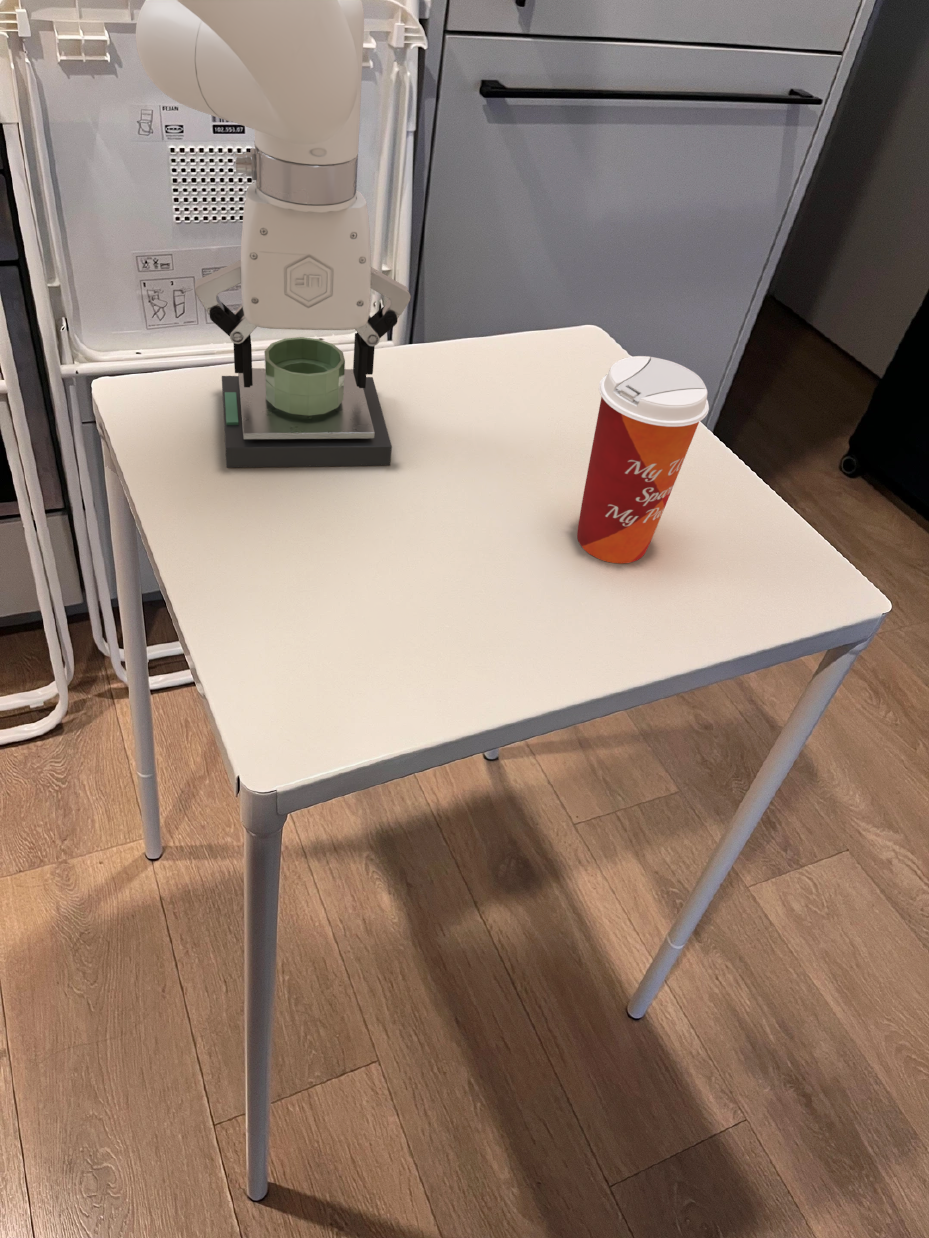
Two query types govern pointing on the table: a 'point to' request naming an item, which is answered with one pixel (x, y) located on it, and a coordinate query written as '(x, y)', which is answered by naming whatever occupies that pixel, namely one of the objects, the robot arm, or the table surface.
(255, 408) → the platform
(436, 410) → the table surface
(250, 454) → the scale base
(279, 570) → the table surface
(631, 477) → the coffee cup
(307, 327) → the robot arm
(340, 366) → the bowl
